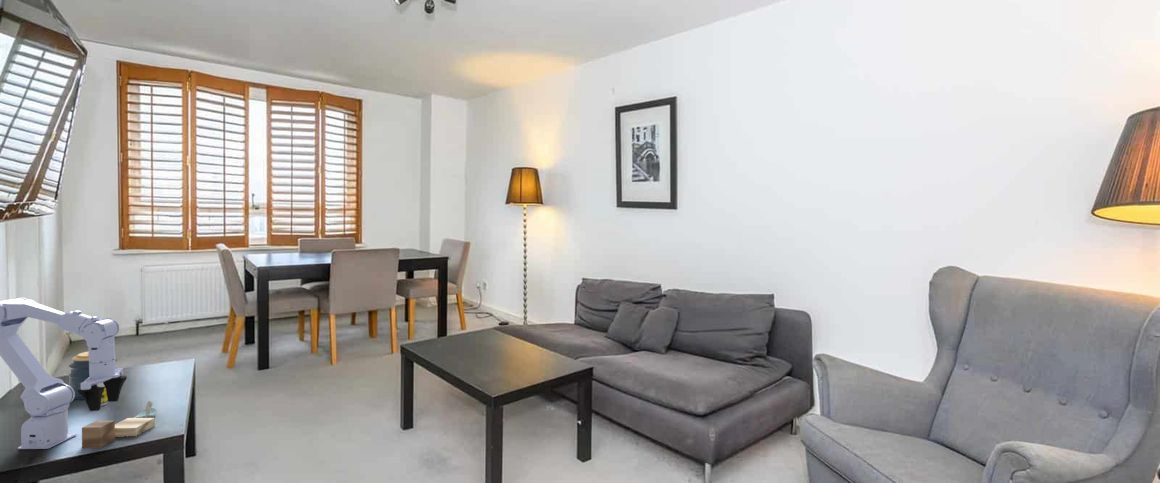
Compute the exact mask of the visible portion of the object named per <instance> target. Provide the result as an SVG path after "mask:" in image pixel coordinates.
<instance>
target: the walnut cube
mask: <svg viewBox="0 0 1160 483" xmlns="http://www.w3.org/2000/svg"><path fill="white" fill-rule="evenodd" d="M115 421H116V420H95V421H93V422H91V423H89V424H86V425H84V426H83V427H81V448H82V449H85V448H87V449H89V448H90V449H97V448H98V449H101V448H103V447H104V446H107V445H109V444H110V442H111V443H112V442H114V441H116V437H115V424H116V422H115ZM108 443H109V444H108Z"/></svg>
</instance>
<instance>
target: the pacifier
mask: <svg viewBox="0 0 1160 483" xmlns="http://www.w3.org/2000/svg"><path fill="white" fill-rule="evenodd" d="M152 406H153V401H152V400H151V399H148V400H147V402H146V406H145V408H144V410H142V411H140V412H139V413H138V414H136V415H135V416H134V417H133V418H154V417H155V416H156V414H157V409H156V408H152Z"/></svg>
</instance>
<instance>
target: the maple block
mask: <svg viewBox="0 0 1160 483" xmlns="http://www.w3.org/2000/svg"><path fill="white" fill-rule="evenodd" d="M155 422H156V418H155V417H152V418H134V417H127V418H125V419H123V420H121V421H119V422H117V423H115V438H116V437H117V438H118V437H119V438H122V437H124V436H127V438H128V436H136V437H138V436H139V435H141V434H143V433H145V432H147V431H149V430H150V429H151V428H154V427H155V426H156V423H155ZM146 430H147V431H146ZM144 431H145V432H144ZM142 432H143V433H142ZM137 435H138V436H137ZM124 438H125V437H124Z"/></svg>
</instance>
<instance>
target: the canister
mask: <svg viewBox="0 0 1160 483" xmlns="http://www.w3.org/2000/svg"><path fill="white" fill-rule="evenodd" d="M71 360H72V361H73V362H71V363H69V364H68V367H69V368H70V373H69V374H68V378H69V382H68V383H69V384H68V385H69V386H71V387H72V388H73V390H74V392H75V397H74V399H73V400H85V399H84V398H83V397H82V395H81V394H80V393H78V389H79V388H81V384H80V383H82V382H84V381H85V380H86V379H88V378H89V377H90V375H89V351H84V352H79V353H78V354H76V355H75V356H73V357H72V358H71ZM116 362H118V359H117V358H116V357H115V363H116ZM116 369H118V368H117V367H116Z"/></svg>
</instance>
